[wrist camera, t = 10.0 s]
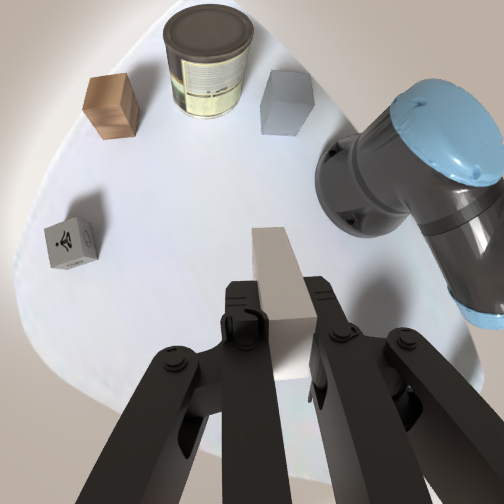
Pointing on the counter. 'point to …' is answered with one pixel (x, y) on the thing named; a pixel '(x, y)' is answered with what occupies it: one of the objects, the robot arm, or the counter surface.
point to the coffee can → (207, 58)
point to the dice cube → (70, 244)
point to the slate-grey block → (286, 103)
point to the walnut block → (111, 106)
